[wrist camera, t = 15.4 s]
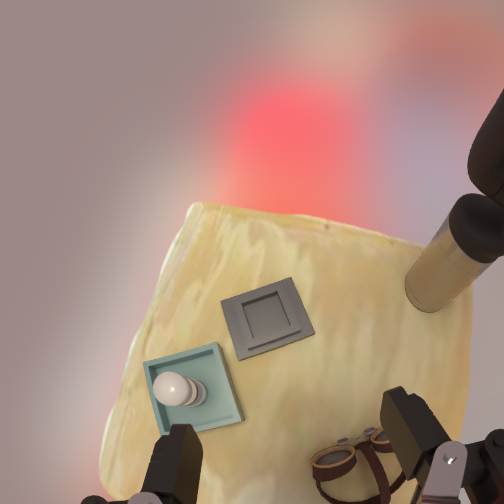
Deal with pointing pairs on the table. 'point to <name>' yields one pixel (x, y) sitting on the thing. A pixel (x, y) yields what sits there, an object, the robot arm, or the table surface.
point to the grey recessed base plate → (266, 318)
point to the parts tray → (206, 371)
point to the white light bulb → (179, 390)
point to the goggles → (343, 460)
